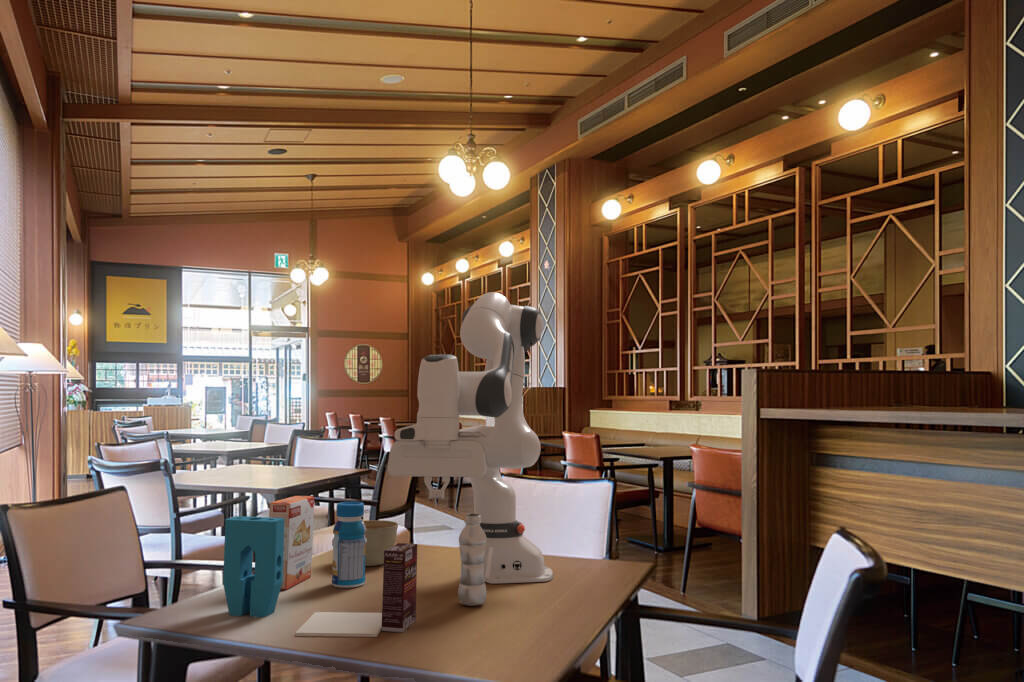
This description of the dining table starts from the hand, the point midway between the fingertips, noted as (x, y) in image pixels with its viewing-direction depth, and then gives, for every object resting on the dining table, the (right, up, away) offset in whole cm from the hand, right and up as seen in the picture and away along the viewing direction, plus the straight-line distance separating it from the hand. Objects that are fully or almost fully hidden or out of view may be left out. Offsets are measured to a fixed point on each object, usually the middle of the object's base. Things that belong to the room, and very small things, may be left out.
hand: (436, 498), depth 152 cm
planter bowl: (-25, -30, +55) cm, 68 cm away
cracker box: (-40, -28, +32) cm, 59 cm away
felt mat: (-19, -26, -2) cm, 32 cm away
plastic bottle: (+7, -27, +14) cm, 31 cm away
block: (-41, -26, +6) cm, 49 cm away
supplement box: (-7, -26, -2) cm, 27 cm away
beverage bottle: (-25, -28, +31) cm, 49 cm away
